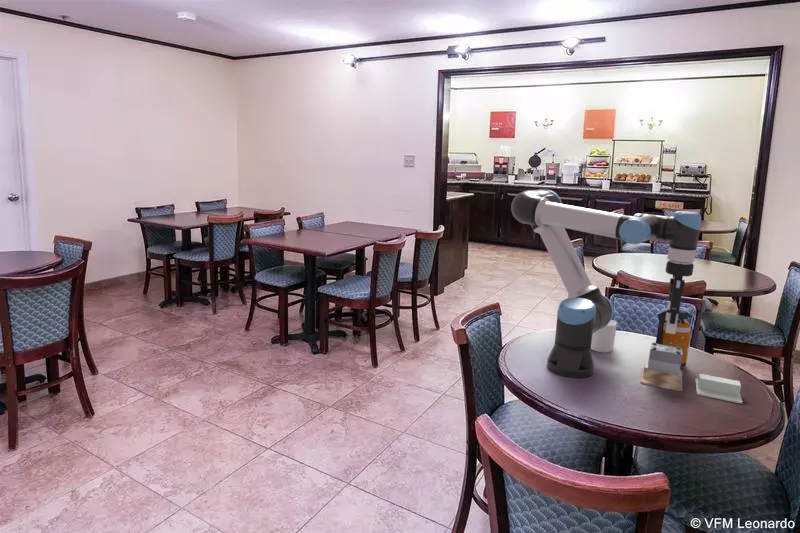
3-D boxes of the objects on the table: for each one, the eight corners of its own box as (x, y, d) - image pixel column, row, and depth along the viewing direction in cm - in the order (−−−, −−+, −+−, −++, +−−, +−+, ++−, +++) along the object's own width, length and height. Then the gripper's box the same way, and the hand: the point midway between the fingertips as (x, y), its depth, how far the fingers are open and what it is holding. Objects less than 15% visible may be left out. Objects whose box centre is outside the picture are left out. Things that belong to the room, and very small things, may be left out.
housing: (647, 369, 173) (650, 347, 172) (648, 362, 179) (651, 341, 178) (678, 375, 170) (682, 353, 168) (678, 368, 175) (681, 346, 174)
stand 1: (640, 383, 173) (642, 371, 172) (642, 369, 183) (643, 358, 182) (682, 391, 168) (684, 379, 167) (681, 377, 178) (683, 366, 177)
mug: (622, 348, 203) (625, 321, 200) (605, 355, 195) (608, 326, 193) (601, 341, 209) (604, 314, 207) (584, 347, 202) (587, 320, 199)
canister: (688, 371, 183) (698, 315, 179) (654, 367, 185) (662, 312, 181) (681, 361, 192) (690, 307, 187) (648, 358, 194) (656, 304, 189)
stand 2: (696, 394, 166) (699, 382, 165) (695, 380, 176) (697, 368, 176) (742, 403, 161) (744, 391, 160) (737, 388, 171) (739, 376, 171)
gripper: (696, 271, 154) (684, 341, 159) (692, 256, 176) (682, 318, 181) (667, 267, 157) (656, 336, 162) (666, 253, 179) (657, 314, 184)
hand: (670, 326), depth 171 cm, fingers open, 13 cm apart
